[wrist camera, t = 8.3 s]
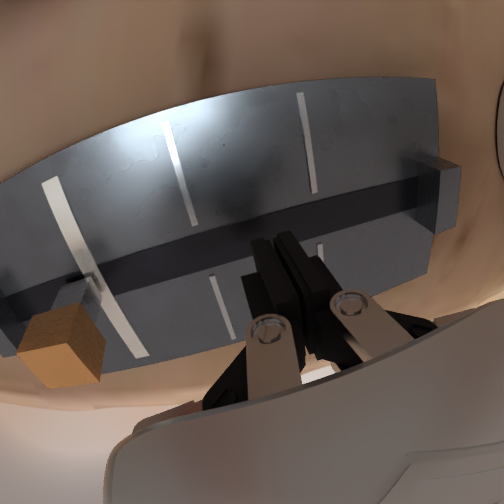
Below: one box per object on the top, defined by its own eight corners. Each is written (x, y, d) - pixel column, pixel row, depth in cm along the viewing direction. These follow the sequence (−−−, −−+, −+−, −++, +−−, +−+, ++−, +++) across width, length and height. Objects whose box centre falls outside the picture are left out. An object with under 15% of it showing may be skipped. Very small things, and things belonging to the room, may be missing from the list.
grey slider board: (413, 77, 14) (459, 81, 10) (411, 259, 21) (442, 287, 18) (-39, 210, 11) (-73, 238, 8) (56, 362, 18) (46, 402, 15)
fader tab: (94, 265, 13) (66, 342, 9) (114, 302, 14) (99, 381, 10) (50, 280, 13) (16, 353, 8) (71, 313, 14) (48, 388, 10)
